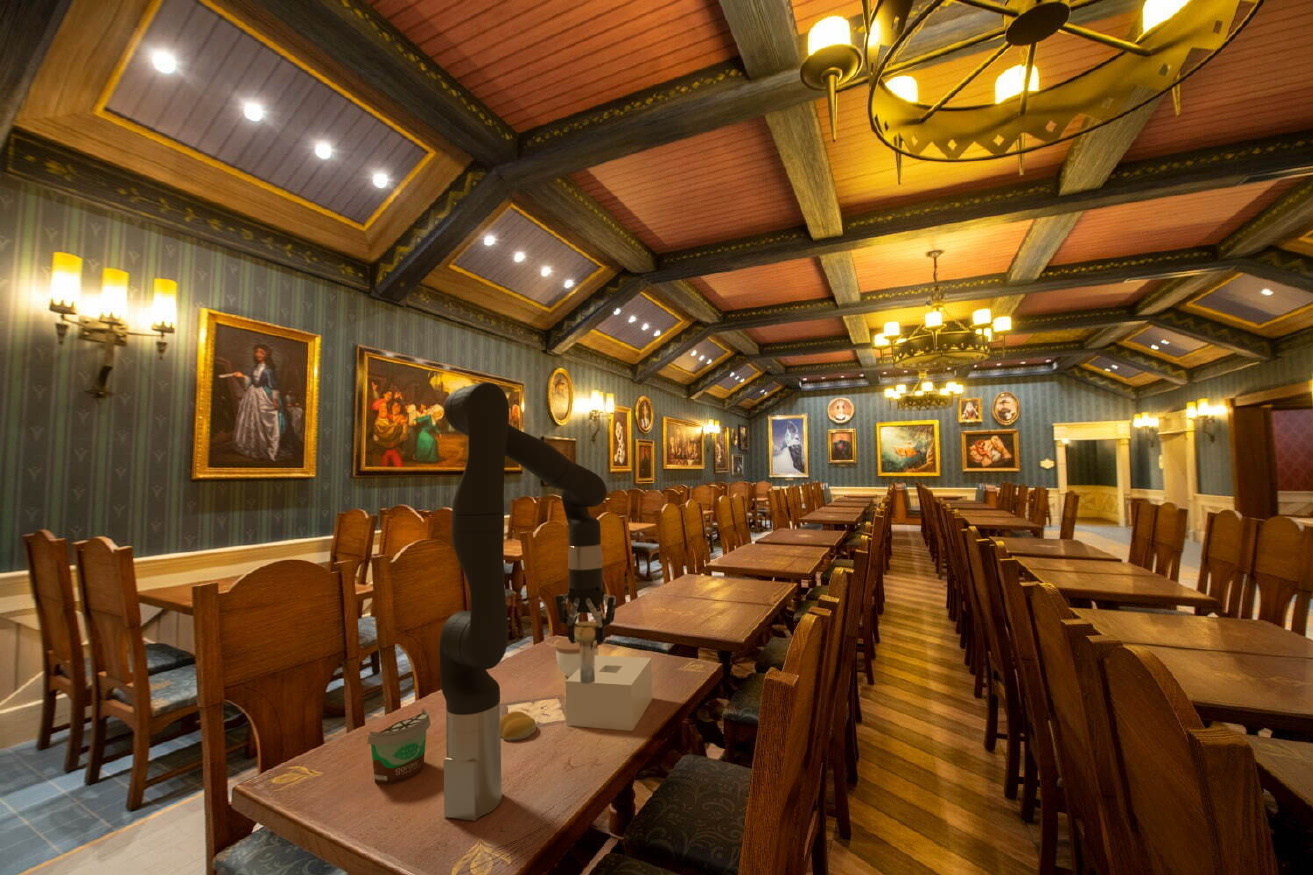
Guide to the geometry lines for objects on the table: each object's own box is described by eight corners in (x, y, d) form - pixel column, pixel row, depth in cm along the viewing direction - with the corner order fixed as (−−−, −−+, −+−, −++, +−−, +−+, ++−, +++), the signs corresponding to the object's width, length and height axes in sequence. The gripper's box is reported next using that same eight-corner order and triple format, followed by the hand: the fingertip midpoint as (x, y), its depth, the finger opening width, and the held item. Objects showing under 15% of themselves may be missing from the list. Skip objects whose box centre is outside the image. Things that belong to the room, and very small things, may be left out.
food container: (386, 795, 99) (385, 739, 100) (367, 786, 103) (367, 732, 103) (443, 763, 110) (443, 713, 111) (425, 756, 113) (424, 707, 114)
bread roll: (509, 746, 117) (509, 727, 117) (491, 732, 123) (491, 714, 124) (543, 733, 122) (543, 714, 122) (524, 720, 129) (524, 703, 129)
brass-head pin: (595, 686, 115) (593, 628, 116) (570, 684, 116) (569, 627, 117) (604, 676, 120) (602, 621, 121) (580, 675, 121) (579, 620, 122)
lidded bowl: (596, 681, 151) (595, 641, 152) (551, 682, 151) (551, 642, 152) (601, 665, 164) (600, 628, 164) (560, 666, 164) (559, 629, 164)
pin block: (632, 730, 121) (631, 685, 122) (566, 725, 125) (565, 680, 126) (652, 697, 138) (651, 658, 139) (594, 693, 142) (593, 655, 143)
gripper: (548, 567, 118) (549, 647, 117) (610, 568, 115) (612, 650, 113) (562, 562, 125) (563, 637, 124) (621, 562, 122) (623, 639, 120)
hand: (587, 642), depth 119 cm, fingers closed on brass-head pin, 5 cm apart
